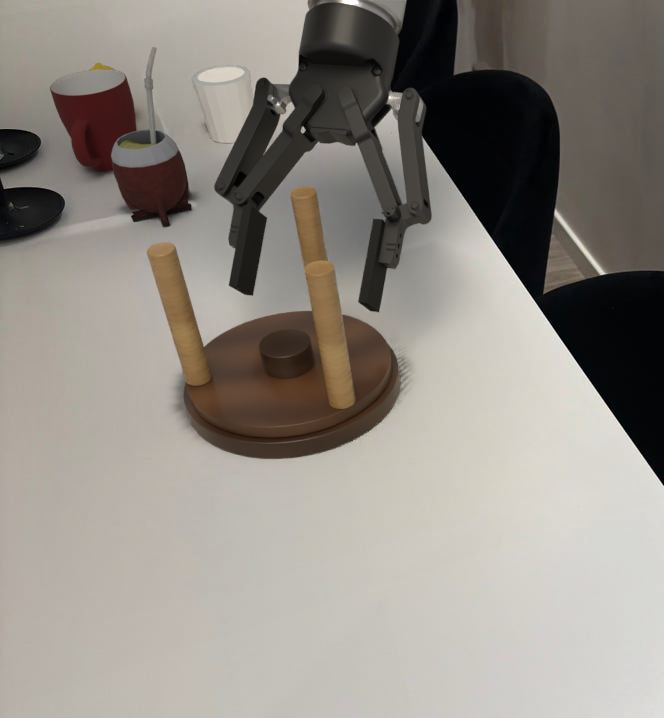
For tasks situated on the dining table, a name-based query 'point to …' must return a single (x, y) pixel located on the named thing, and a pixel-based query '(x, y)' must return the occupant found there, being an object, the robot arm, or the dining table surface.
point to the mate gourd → (150, 168)
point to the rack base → (305, 442)
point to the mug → (95, 113)
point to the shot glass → (224, 100)
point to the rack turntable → (278, 349)
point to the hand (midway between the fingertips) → (303, 299)
